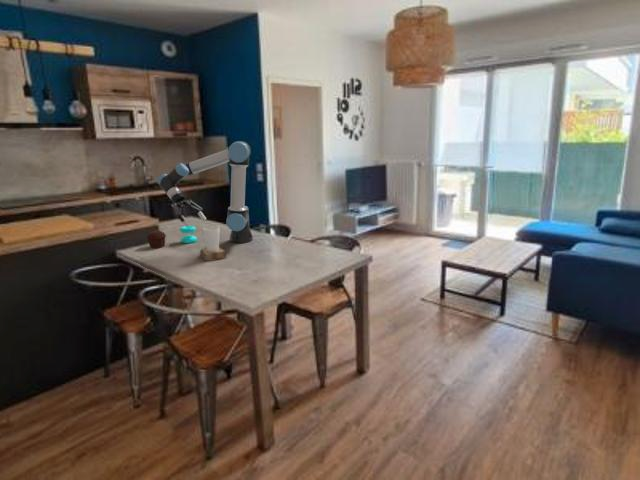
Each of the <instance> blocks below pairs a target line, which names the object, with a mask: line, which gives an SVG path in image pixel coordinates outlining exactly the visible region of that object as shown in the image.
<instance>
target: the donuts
mask: <svg viewBox="0 0 640 480" xmlns="http://www.w3.org/2000/svg"><path fill="white" fill-rule="evenodd" d="M179 230H180V232H181V233H182V234H191V233H194V232H196V230H197V228H196V227H195V226H194V225H188V226H187V227H186V226H185V225H183V226H181V227H180V228H179ZM197 240H198V237H196V235H193V234H192V235H185V236H182V238H181V239H180V241H181V243H183V244H192V243H193V244H194V243H196V242H197Z"/></svg>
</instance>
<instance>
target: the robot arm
mask: <svg viewBox="0 0 640 480" xmlns="http://www.w3.org/2000/svg"><path fill="white" fill-rule="evenodd" d="M251 152H252V151H251V147H250V145H249V143H248V142H246V141H243V140H239V141H234V142H233V143H231V145H230V146H227V147H226V149H224V150H221V151H218V152H215V153H213V154H210V155H208V156H205V157H204V156H203V157H202V158H199V159H196V160H193V161H190V162H188V163H186V164H184V163H182V162H180V163H178V164H177V165H176V166H175V167H174V168H173V169H172V170H171V171H170V172H169V173H168V174H167V173H162V174H161V175H159V176H158V177H157V179H156V181H157V184H158V185H159V187H160V188H161V189H162V191H164V193H165V194H166V195H167V197H169V199H170V200H171V202H172V203H171V205H170V206H171V208H172V211H173V215H174V216H173V217H174V218H175V219H177V220H179V221H180V222H181V223H183V224H184V226H186V227H187V226H190V225H189V224H190V223H189V221H188V220H187V219H186V218H185V216H184V215H182V211H183V210H184V209H190V210H191V211H193V212H195V213H197V215H198V216H199V218H200V219H201V220H202V222H206V221H207V217H206V216H205V214H204V213H203V212H202V211H203V207H201V206H200V205H198V203H195V202H194V201H193V200H192V199H191V198H189V199H188V200H187V199H186V197H185V195H184V194H183V192H182V191H181V190H180V188H178V185H177V184H179V183H180V182H181V181H182V180H183V179H185V178H187V177H190V176H193V175H195V174H199V173H201V172H203V171H206V170H210V169H212V168H215V167H218V166H221V165H223V164H226V163H229V165H230V166H231V175H230V177H231V178H230V206H228V208H227V217H226V221H225V223H226V227H228V229H229V230H230V236H229V242H230V243H233V244H241V243H242V244H243V243H248V242H252V241H253V240H254V237H253V234H252V231H251V227H250V215H249V214H250V213H249V210H250V209H249V207H248V206H247V205H245V204H246V202H245V200H246V183H247V182H246V180H247V179H246V178H247V177H246V176H247V168H248V167H249V165H250V156H251V154H252V153H251Z"/></svg>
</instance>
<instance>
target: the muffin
mask: <svg viewBox="0 0 640 480" xmlns="http://www.w3.org/2000/svg"><path fill="white" fill-rule="evenodd" d="M166 236H167V235H166V233H165V232H163V231H162V230H153V231H151V232H149V233H148V234H147V236H146V239H147V241H148V244H149V247H150V248H151V249H161V248H164V247H165V246H166ZM150 248H149V249H150Z"/></svg>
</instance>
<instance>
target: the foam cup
mask: <svg viewBox="0 0 640 480" xmlns="http://www.w3.org/2000/svg"><path fill="white" fill-rule="evenodd" d="M220 231H221V229H220V227H219V226H206V227H203V228H202V233H203V236H204V241H205V246H206V249H207V250H208V251H209V252H214V251H218V250H219V247H220V233H221V232H220Z"/></svg>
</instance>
